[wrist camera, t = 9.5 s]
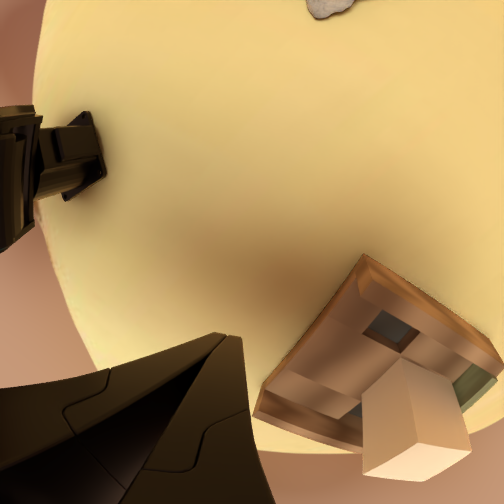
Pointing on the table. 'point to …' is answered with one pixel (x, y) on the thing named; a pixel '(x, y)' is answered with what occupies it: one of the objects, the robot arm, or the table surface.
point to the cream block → (411, 424)
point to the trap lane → (371, 356)
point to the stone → (327, 7)
